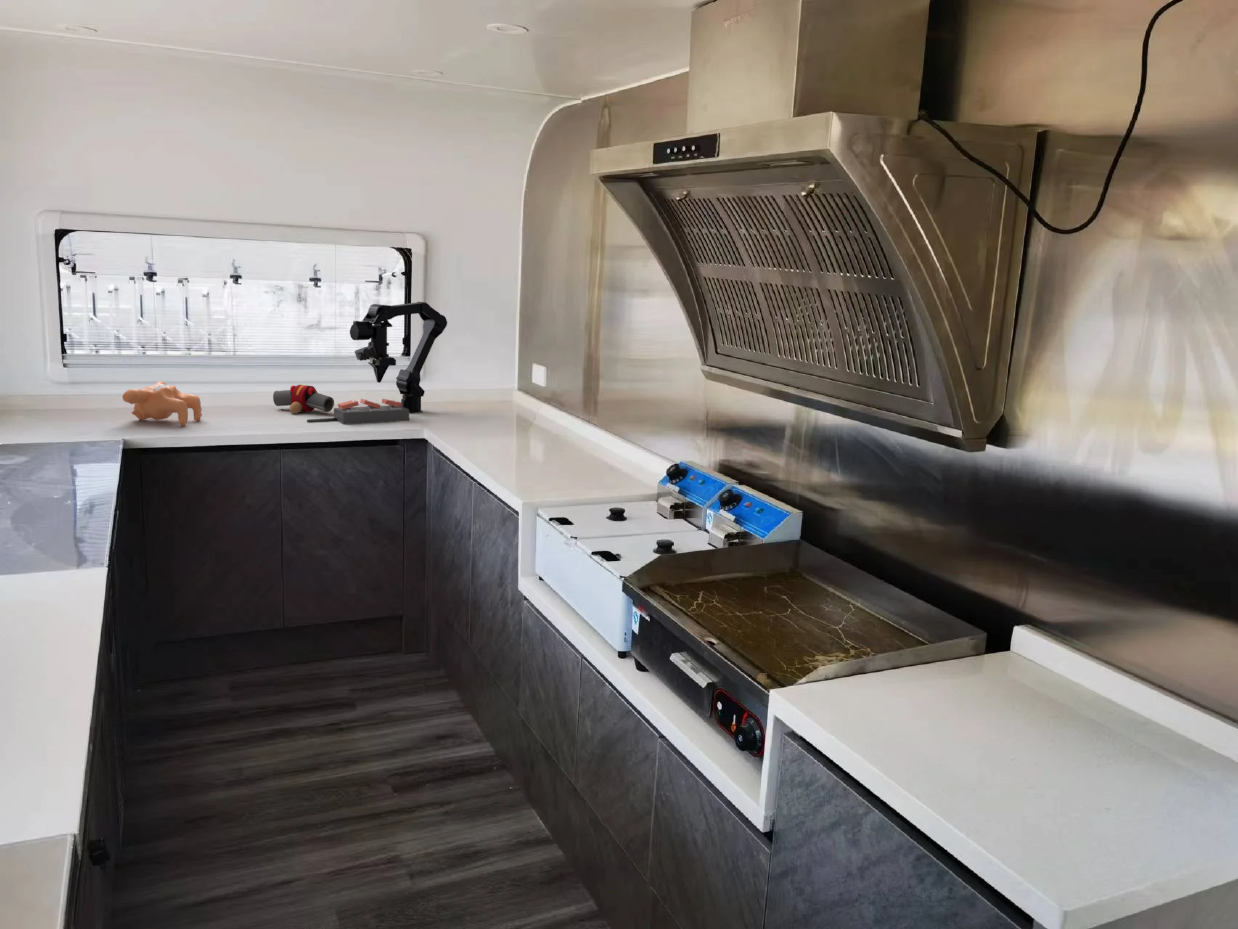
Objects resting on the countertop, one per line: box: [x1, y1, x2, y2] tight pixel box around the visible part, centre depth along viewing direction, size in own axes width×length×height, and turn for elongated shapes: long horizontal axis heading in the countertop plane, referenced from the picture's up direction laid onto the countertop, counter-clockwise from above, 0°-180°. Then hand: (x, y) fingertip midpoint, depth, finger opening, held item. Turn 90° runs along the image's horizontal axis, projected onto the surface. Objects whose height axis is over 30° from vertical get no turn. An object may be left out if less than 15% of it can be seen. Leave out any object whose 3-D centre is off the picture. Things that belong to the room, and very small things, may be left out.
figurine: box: [121, 380, 203, 427], centre depth 319 cm, size 14×25×20 cm
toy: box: [272, 384, 335, 415], centre depth 352 cm, size 23×10×15 cm
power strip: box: [306, 405, 410, 425], centre depth 341 cm, size 34×10×5 cm, turn 124°
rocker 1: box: [337, 399, 359, 410], centre depth 340 cm, size 6×4×2 cm, turn 124°
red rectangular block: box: [381, 398, 402, 407], centre depth 349 cm, size 6×4×2 cm, turn 125°
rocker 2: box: [359, 398, 381, 409], centre depth 344 cm, size 6×4×2 cm, turn 125°
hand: (378, 382), depth 352 cm, fingers closed
